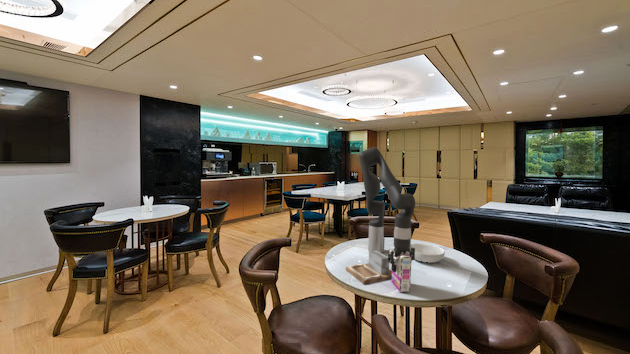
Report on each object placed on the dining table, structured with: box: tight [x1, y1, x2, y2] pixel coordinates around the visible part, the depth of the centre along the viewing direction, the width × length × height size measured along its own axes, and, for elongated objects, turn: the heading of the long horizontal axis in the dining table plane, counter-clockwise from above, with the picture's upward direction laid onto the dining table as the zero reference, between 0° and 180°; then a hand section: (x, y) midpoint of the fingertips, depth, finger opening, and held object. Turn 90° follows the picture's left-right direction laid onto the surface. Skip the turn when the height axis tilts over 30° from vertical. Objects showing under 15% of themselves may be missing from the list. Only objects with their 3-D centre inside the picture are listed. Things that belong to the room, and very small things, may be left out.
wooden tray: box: [345, 251, 392, 285], centre depth 137 cm, size 20×17×10 cm
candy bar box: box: [391, 248, 413, 293], centre depth 123 cm, size 11×5×16 cm, turn 5°
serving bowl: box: [411, 243, 446, 264], centre depth 157 cm, size 21×21×7 cm
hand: (401, 270), depth 123 cm, fingers open, 7 cm apart
